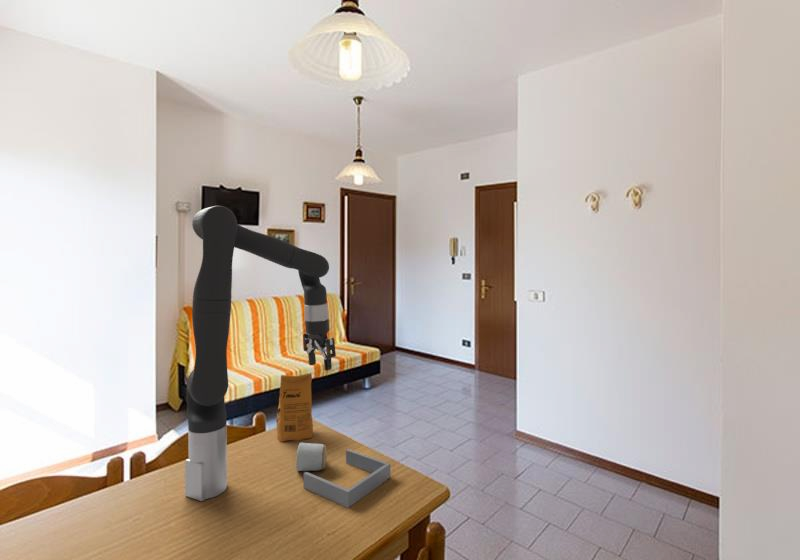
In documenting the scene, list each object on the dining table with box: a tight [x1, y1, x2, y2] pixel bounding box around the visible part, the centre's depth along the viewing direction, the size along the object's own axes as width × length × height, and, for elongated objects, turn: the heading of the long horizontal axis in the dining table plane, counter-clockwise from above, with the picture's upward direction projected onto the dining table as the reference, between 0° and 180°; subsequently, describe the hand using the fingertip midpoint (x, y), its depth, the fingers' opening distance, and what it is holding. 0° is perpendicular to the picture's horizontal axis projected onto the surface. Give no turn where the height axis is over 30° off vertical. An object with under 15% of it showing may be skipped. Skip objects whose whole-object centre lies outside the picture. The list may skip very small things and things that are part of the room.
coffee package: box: [276, 372, 314, 443], centre depth 145 cm, size 10×12×22 cm
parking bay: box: [303, 448, 392, 509], centre depth 114 cm, size 18×16×4 cm
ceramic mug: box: [295, 442, 327, 472], centre depth 123 cm, size 11×8×8 cm
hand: (320, 367), depth 132 cm, fingers open, 8 cm apart
